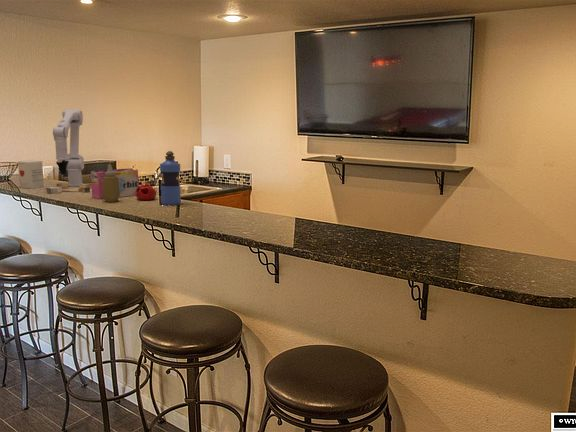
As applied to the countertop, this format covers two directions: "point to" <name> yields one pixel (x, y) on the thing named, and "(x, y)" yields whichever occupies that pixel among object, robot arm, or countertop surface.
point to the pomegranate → (145, 192)
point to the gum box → (125, 180)
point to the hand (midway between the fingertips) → (63, 174)
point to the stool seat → (76, 188)
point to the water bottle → (170, 181)
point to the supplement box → (30, 174)
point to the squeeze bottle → (110, 186)
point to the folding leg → (59, 188)
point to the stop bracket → (55, 191)
